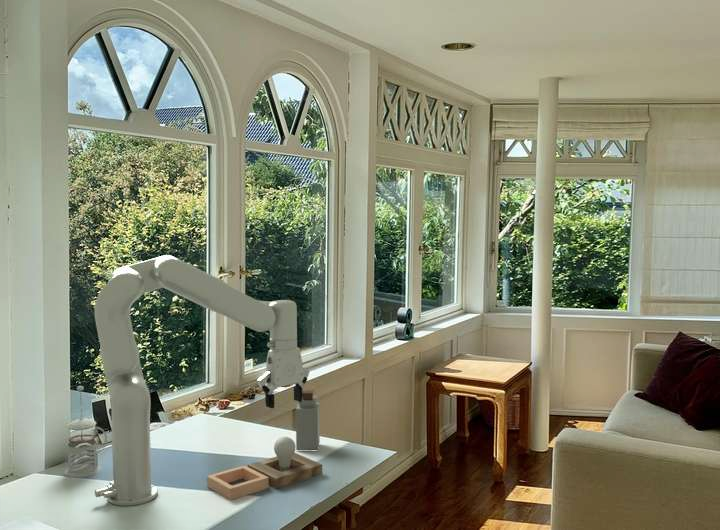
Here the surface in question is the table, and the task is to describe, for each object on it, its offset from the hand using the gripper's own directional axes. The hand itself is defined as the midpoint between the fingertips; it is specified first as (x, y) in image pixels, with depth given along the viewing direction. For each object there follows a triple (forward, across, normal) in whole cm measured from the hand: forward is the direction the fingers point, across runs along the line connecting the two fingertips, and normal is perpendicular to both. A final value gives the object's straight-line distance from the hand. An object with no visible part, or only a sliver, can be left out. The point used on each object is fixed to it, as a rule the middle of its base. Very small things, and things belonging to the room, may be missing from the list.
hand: (284, 404), depth 204 cm
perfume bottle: (+21, +19, +14) cm, 31 cm away
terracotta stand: (+20, -15, +1) cm, 26 cm away
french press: (+20, -41, +41) cm, 62 cm away
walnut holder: (+20, 0, 0) cm, 20 cm away
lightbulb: (+21, 0, 0) cm, 21 cm away
